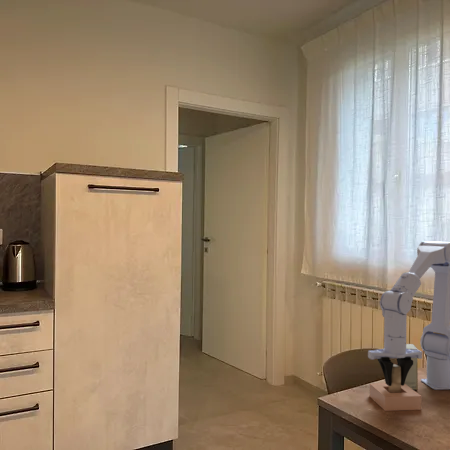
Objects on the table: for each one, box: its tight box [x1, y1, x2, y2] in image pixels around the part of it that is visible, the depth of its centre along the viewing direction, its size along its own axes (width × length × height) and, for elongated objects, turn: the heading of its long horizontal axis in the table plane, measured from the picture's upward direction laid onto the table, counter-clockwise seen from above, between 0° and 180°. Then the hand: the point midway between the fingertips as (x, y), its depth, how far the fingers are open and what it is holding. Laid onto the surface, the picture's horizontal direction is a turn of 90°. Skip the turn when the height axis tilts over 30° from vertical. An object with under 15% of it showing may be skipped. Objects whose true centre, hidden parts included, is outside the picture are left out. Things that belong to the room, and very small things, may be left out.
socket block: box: [369, 382, 423, 412], centre depth 123 cm, size 10×10×4 cm
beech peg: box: [389, 363, 401, 393], centre depth 123 cm, size 3×3×8 cm
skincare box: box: [405, 343, 419, 391], centre depth 136 cm, size 6×4×12 cm
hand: (394, 384), depth 123 cm, fingers closed on beech peg, 3 cm apart
